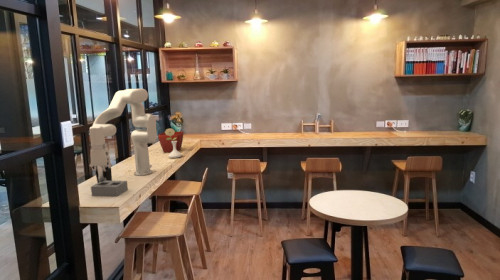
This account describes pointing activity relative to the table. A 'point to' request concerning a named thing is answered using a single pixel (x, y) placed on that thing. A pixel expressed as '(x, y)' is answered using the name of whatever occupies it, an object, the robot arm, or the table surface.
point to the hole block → (109, 188)
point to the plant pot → (167, 144)
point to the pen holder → (108, 176)
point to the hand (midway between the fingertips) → (102, 177)
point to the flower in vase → (174, 153)
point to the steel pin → (100, 174)
